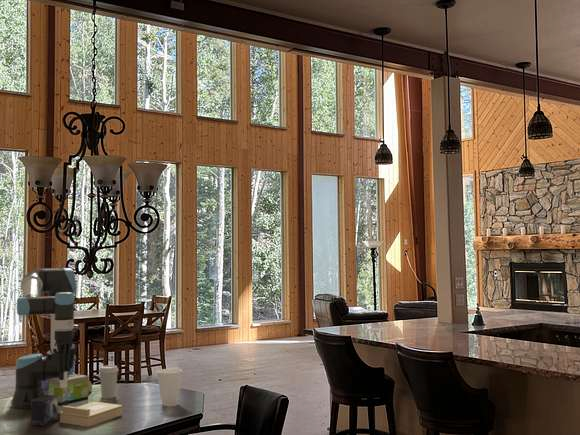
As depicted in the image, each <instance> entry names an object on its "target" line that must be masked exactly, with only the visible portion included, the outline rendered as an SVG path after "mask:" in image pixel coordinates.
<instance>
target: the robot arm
mask: <svg viewBox="0 0 580 435" xmlns="http://www.w3.org/2000/svg"><path fill="white" fill-rule="evenodd" d="M75 274H76V273H75V271H74V269H73V268H69V267H59V268H58V267H57V268H38V269H34V270H32V271H29V272H28V273H26V274H25V275H24V276H23V277H22V279H21V281H20V289H21V291H22V295H21V296H22V297H18V298H17V299H16V315H18V316H37V315H38V316H39V315H50V349H49V350H48V351H47V352H46V356H44V355H43V354H42V353H32V354H28V355H23V356H20V357H19V358H17V359H16V361H15V368H14V369H15V388H14V389H15V390H14V393H13V396H12V399H11V401H10V406H11V407H12V408H14V409H31V405H32V400H34V399H37V398H39V397H42V396H44V395H45V393H44V390H43V382H49V379H52V378H58V377H59V380H60V388H67V379H68V375H73V374H75V367H76V366H75V365H76V359H77V357H76V351H77V348H78V344H75V343H74V341H73V339H74V336H75V331H74V330H73V329H74V328H75V323H74V322H75V314H74V313H75V294H74V293H77V280H76V275H75ZM43 293H47V296H41V295H42V294H43Z"/></svg>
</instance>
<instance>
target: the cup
mask: <svg viewBox="0 0 580 435" xmlns="http://www.w3.org/2000/svg"><path fill="white" fill-rule="evenodd" d="M156 373H157V379H158V387H159V388H158V389H159V393H160V394H159V395H160V400H161V405H163V406H162V407H165V406H167V407H168V408H170V407H171V406H172V407H176V406H178V402H179V401H178V400H179V398H180V390H181V382H182V375H183V369H181V368H163V369H159V370H157V371H156ZM167 407H166V408H167Z"/></svg>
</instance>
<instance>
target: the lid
mask: <svg viewBox="0 0 580 435" xmlns="http://www.w3.org/2000/svg"><path fill="white" fill-rule="evenodd" d="M119 407H122V408H123V405H122V404H116V403H110V402H109V403H107V402H100V401H92V402H88V404H85V405H82V406H78V407H71V406H63V409H62V412H60V413H61V414H67V415H74V416H81V417H88V418H89V417H92V416H95V415H98V414H101V413H104V412H107V411H110V410H113V409H116V408H119ZM60 413H59V414H60Z"/></svg>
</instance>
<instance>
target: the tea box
mask: <svg viewBox="0 0 580 435" xmlns="http://www.w3.org/2000/svg"><path fill="white" fill-rule="evenodd" d="M89 381H90V376H89V375H84V374H78V373H73V375H68V379H67V388H60V380H59V377H58V378H52V379H49V381H48V395H52V396H58V412H57V413H58V414H61V413H60V412H62V409H63V406H71V407H78V406H82V405H85V404H88V403H89V393H88V389H89Z"/></svg>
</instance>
